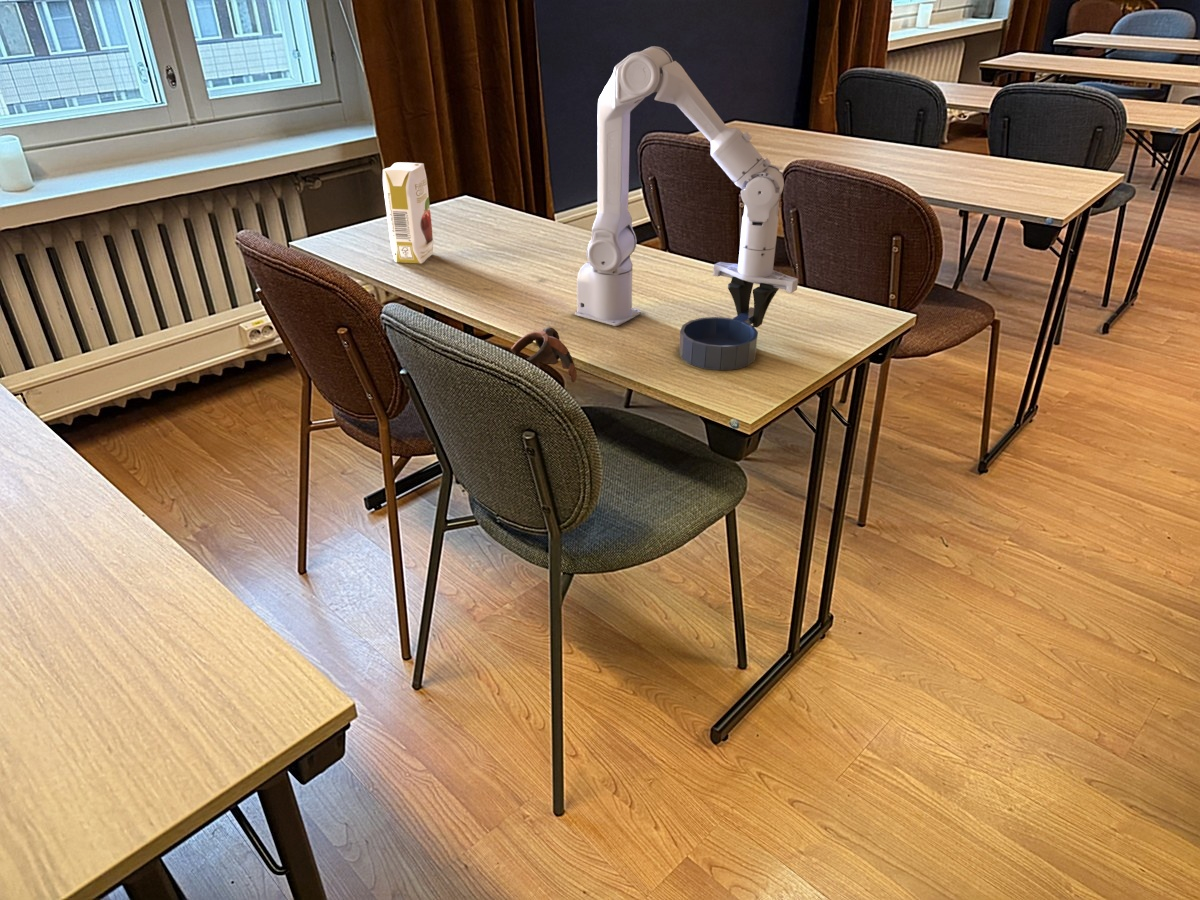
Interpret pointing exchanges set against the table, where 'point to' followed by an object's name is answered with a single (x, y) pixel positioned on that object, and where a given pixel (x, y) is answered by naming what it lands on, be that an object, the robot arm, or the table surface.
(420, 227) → the juice carton
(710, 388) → the table surface
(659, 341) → the table surface
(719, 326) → the blue measuring scoop
